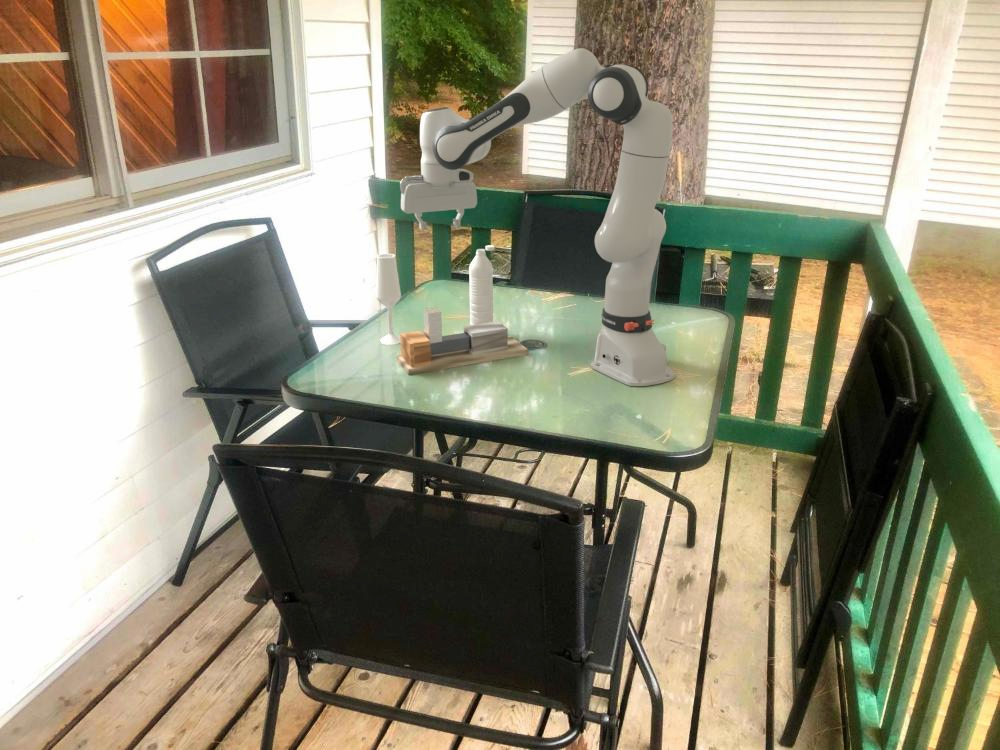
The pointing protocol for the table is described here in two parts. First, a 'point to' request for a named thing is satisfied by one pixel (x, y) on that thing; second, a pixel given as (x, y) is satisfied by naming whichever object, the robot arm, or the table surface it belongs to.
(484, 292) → the water bottle
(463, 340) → the slider with upright handle
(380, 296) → the champagne flute
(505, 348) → the base
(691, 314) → the table surface
